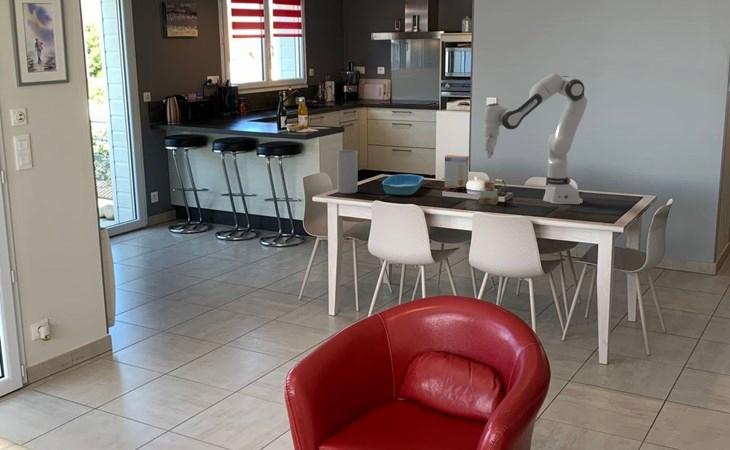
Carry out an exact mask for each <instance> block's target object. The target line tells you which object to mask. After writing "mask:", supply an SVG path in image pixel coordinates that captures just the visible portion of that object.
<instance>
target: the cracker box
mask: <svg viewBox="0 0 730 450" xmlns="http://www.w3.org/2000/svg"><path fill="white" fill-rule="evenodd" d="M469 158H470V157H469V156H467V155H459V154H457V155H455V154H447V155H445V156H444V175H443V176H444V177H443V179H444V180H443V182H444V183H443V187H444V189H446V190H448V189H449V188H456V187H466V183H467V182H468V183H469ZM449 190H450V189H449Z"/></svg>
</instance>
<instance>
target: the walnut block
mask: <svg viewBox="0 0 730 450" xmlns="http://www.w3.org/2000/svg"><path fill="white" fill-rule="evenodd" d="M499 196H500V195H498V194H497V196H496V197H495V198H494V199H493V198H483V197H480V196H479V197H478V204H479V205H489V206H490V205H491V206H497V204H499V200H500V199H499Z"/></svg>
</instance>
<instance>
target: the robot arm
mask: <svg viewBox="0 0 730 450" xmlns="http://www.w3.org/2000/svg"><path fill="white" fill-rule="evenodd" d="M557 93H559V94H560V95H562V96H564V97H566V98H567V102H566V104H565V106H564V109H563V111H562V113H561V115H560V117H559V120H558V122H557V127H556V130H555V132H554V133H552V134H550V135H549V137H548V139H547V174H546V178H545V186H546V187H545V191H544V192H545V193H544V195H543V198H542V200H543V202H547V203H551V204H557V205H558V204H559V205H581V204H583V200H584V199H582V198H581V197H580V193H579V191H578V189H577V188H576V187H574V186H573V185H572V184H571V178H570V177H568V155H567V154H568V153H569V151H570V150H571V147H572V144H573V142H574V138H575V135H576V131H577V129H578V126H579V125H580V122H581V120H582V118H583V117H584V113H585V111H586V109H587V104H588V98H587V97H586V96H585V85H584V83H583V82H582V80H580V79H577V78H576V77H573V76H567V75H566V76H565V75H564V76H561V75H559V74H558V73H555V72H553V73H551V74H550V73H549V74H548V75H547V76H545V77H544V78H542V79H540V80H539V81H537V82H536V83H535V84H534V85H533V86H532V87H531V88H530V89H529V93H528V98H527V99H526V101H525V100H524V102H523V103H522V104H521V105H520V106H518V107H517V108H516V109H514V110H512V109H508V108H506V107H504V106H502V105H500V104H499V103H495V102H494V103H489V104H487V105H485V108H484V116H483V121H484V124H483V136H485V151H486V152H487V158H488V159H491V158H492V156H494V152H495V151H494V150H495V148H496V146H497V141H498V137H499V136H500V126H503V127H504V128H505V129H507V130H516V129H517V128H518V127H519V126H520V125H521V122H522V120H524V119H525V118H526V117H527V116H528V115H529V114H530V113H531V112H532V111H534V110H535V109H536V108H537V107H538V106H540V105H541V104H544V102H546V101H548V100H550V98H552V97H553V96H554V95H555V94H557ZM580 203H581V204H580Z"/></svg>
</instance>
